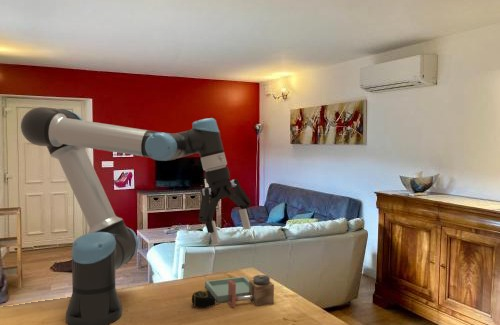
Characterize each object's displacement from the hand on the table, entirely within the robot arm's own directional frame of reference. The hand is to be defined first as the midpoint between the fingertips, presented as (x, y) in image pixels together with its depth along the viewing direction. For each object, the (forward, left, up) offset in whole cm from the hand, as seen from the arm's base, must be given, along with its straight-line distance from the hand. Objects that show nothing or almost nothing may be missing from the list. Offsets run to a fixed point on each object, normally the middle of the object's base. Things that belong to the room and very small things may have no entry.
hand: (232, 235), depth 128 cm
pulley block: (+10, 0, -22) cm, 24 cm away
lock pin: (+7, 0, -22) cm, 23 cm away
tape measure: (-7, +4, -23) cm, 24 cm away
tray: (+4, +11, -22) cm, 25 cm away
